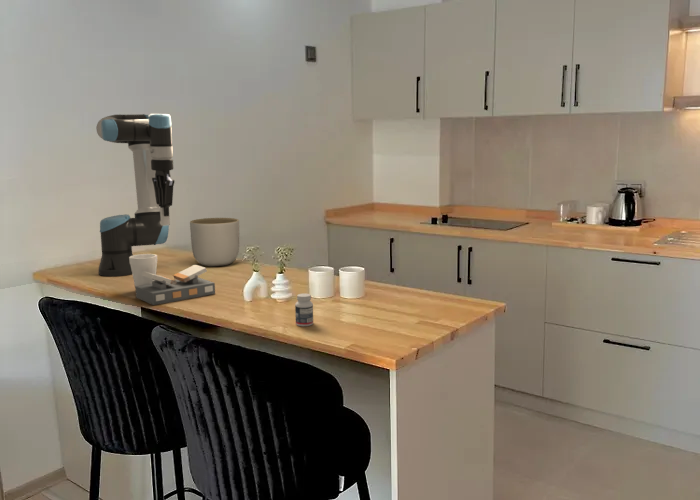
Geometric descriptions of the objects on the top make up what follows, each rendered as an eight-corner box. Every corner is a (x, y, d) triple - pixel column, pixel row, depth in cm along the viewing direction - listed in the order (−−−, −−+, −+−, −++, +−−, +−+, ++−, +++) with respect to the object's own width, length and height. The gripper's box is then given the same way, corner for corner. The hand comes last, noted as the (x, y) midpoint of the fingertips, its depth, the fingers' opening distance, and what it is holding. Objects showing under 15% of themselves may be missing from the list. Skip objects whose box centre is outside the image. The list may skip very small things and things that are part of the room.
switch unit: (136, 297, 226) (135, 281, 225) (196, 287, 241) (195, 272, 240) (153, 305, 215) (152, 288, 214) (215, 294, 230) (214, 278, 229)
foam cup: (162, 292, 233) (159, 257, 230) (135, 296, 228) (133, 259, 226) (155, 287, 241) (152, 253, 238) (129, 290, 236) (126, 255, 234)
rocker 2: (174, 280, 232) (172, 275, 231) (196, 269, 237) (194, 264, 236) (185, 284, 225) (183, 278, 225) (207, 272, 230) (205, 267, 230)
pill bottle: (295, 321, 195) (295, 293, 194) (313, 321, 196) (312, 292, 194) (295, 326, 190) (295, 297, 189) (313, 326, 191) (313, 296, 189)
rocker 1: (141, 276, 223) (142, 270, 223) (164, 282, 229) (166, 277, 229) (151, 280, 217) (153, 274, 217) (175, 286, 223) (177, 281, 223)
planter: (235, 268, 274) (234, 223, 270) (186, 268, 274) (184, 224, 271) (244, 259, 294) (242, 217, 291) (198, 259, 294) (196, 217, 291)
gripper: (143, 158, 231) (147, 223, 236) (160, 160, 221) (163, 228, 226) (163, 157, 236) (166, 221, 241) (180, 159, 226) (183, 226, 231)
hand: (165, 225), depth 233 cm, fingers closed
